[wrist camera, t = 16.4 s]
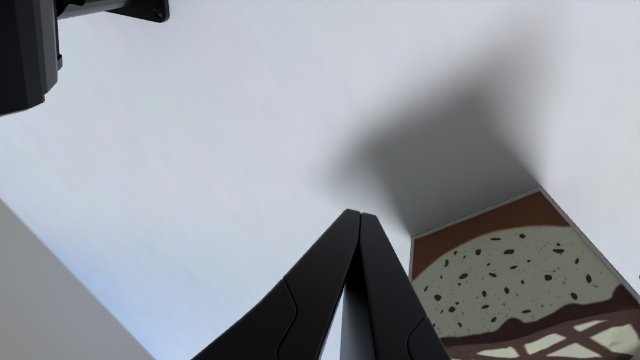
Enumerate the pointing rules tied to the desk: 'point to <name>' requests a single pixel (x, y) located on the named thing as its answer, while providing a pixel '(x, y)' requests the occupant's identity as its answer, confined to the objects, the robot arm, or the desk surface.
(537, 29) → the desk surface
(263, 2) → the desk surface
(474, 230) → the food container
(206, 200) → the desk surface
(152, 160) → the desk surface
